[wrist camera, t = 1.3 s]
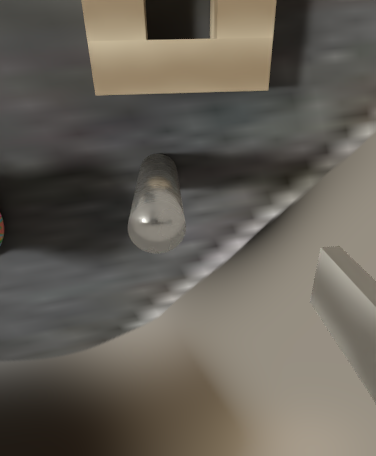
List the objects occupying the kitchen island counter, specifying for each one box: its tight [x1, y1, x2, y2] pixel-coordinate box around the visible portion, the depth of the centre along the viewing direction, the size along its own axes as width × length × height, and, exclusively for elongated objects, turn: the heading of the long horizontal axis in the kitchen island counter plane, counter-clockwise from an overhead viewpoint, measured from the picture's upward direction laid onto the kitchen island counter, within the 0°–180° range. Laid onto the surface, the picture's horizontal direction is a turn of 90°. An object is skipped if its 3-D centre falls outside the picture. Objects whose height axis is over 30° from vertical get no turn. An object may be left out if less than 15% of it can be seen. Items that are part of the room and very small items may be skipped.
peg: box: [128, 154, 186, 253], centre depth 20 cm, size 3×3×10 cm
